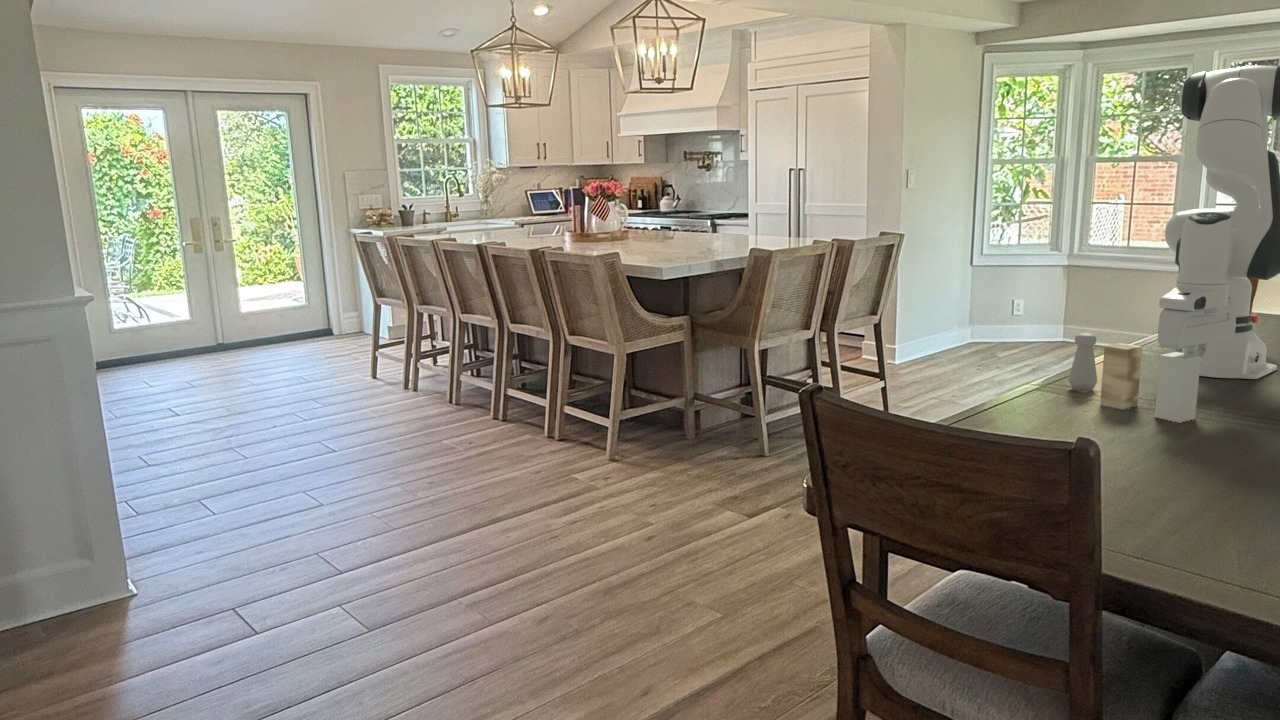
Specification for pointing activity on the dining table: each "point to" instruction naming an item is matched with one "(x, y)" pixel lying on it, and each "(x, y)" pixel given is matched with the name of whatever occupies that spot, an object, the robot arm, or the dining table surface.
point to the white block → (1177, 387)
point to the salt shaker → (1084, 364)
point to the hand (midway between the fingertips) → (1194, 365)
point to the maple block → (1121, 376)
